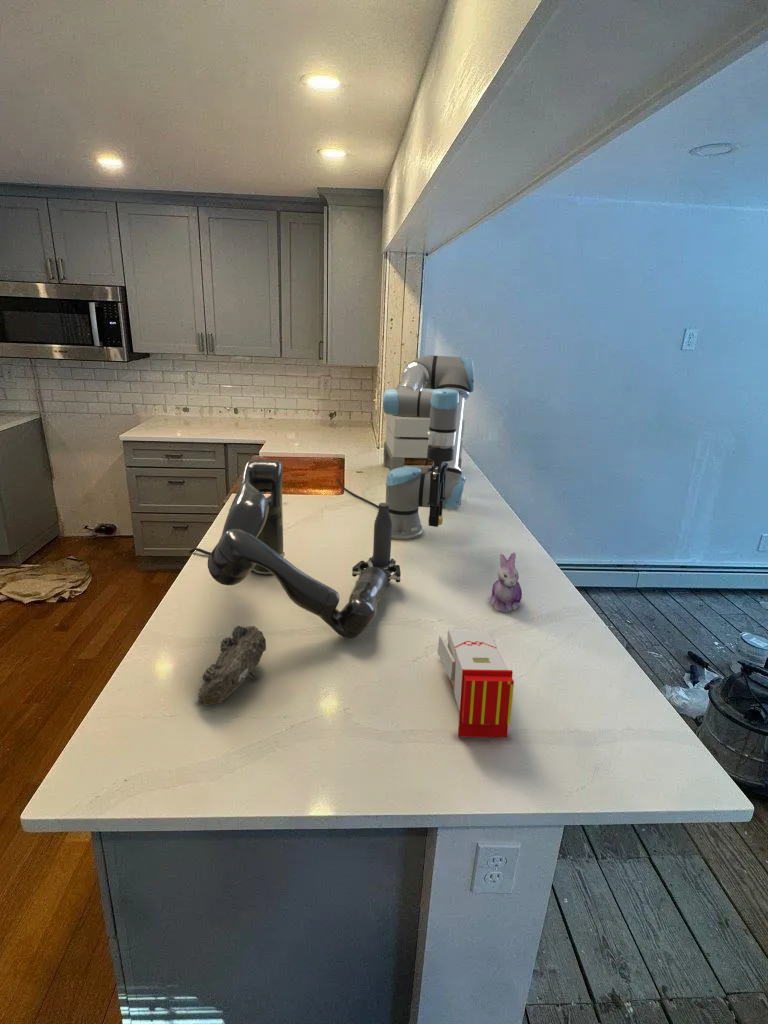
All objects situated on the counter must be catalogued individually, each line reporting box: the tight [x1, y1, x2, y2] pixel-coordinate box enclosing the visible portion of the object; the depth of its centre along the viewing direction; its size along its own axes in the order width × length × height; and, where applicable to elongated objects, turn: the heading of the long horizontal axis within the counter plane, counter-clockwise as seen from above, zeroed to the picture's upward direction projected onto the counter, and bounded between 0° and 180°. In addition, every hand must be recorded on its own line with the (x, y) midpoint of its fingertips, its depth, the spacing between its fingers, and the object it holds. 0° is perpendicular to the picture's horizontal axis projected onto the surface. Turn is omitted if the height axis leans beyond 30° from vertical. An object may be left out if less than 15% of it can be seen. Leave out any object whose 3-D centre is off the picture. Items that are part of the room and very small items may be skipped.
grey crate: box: [383, 385, 465, 472], centre depth 268 cm, size 34×33×41 cm
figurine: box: [490, 551, 523, 613], centre depth 152 cm, size 9×10×15 cm
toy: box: [437, 628, 515, 738], centre depth 117 cm, size 12×13×30 cm
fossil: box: [197, 625, 267, 705], centre depth 118 cm, size 22×10×15 cm
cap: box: [427, 515, 444, 526], centre depth 167 cm, size 4×4×2 cm
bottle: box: [372, 502, 392, 587], centre depth 160 cm, size 5×5×24 cm
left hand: (383, 560), depth 164 cm, fingers closed on bottle, 5 cm apart
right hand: (435, 523), depth 167 cm, fingers closed on cap, 4 cm apart
